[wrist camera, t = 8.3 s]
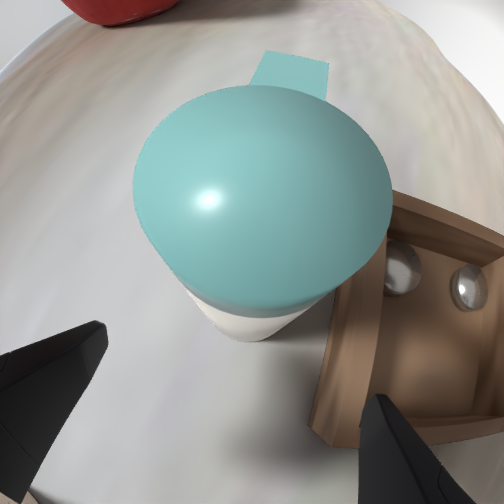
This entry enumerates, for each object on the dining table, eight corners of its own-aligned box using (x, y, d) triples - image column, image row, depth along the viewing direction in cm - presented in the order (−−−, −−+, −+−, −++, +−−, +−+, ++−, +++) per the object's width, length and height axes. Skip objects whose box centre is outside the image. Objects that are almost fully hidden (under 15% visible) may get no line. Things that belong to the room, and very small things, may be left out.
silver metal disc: (482, 302, 15) (492, 298, 14) (458, 319, 15) (469, 316, 14) (468, 263, 16) (478, 257, 15) (443, 276, 16) (453, 271, 15)
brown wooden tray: (466, 424, 13) (507, 430, 9) (307, 425, 13) (331, 447, 9) (480, 262, 17) (516, 242, 13) (344, 220, 18) (370, 182, 14)
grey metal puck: (418, 287, 16) (428, 282, 14) (380, 304, 15) (389, 300, 14) (399, 242, 17) (408, 234, 16) (360, 255, 16) (368, 247, 15)
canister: (280, 350, 15) (386, 327, 4) (196, 329, 15) (90, 254, 4) (302, 241, 17) (379, 77, 6) (227, 223, 18) (214, 43, 6)
